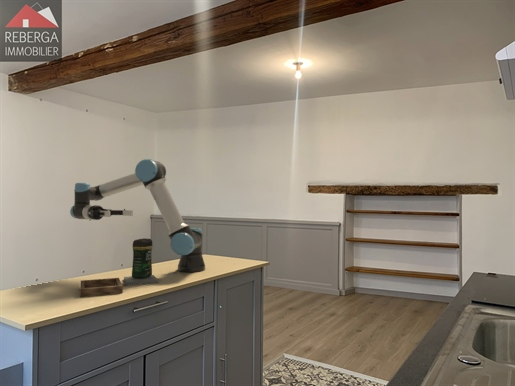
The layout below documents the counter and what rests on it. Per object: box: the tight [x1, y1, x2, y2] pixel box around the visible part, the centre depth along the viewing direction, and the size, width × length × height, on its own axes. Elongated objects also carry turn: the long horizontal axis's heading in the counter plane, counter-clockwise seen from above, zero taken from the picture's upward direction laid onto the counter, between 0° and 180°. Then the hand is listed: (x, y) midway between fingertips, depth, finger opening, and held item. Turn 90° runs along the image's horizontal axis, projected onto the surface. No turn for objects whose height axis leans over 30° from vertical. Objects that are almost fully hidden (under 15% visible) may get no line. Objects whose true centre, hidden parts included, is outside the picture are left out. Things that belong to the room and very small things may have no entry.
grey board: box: [123, 274, 159, 286], centre depth 182 cm, size 14×13×2 cm
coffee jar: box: [131, 238, 153, 278], centre depth 185 cm, size 10×8×19 cm
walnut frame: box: [79, 277, 123, 298], centre depth 164 cm, size 16×18×3 cm
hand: (121, 213), depth 189 cm, fingers open, 13 cm apart
